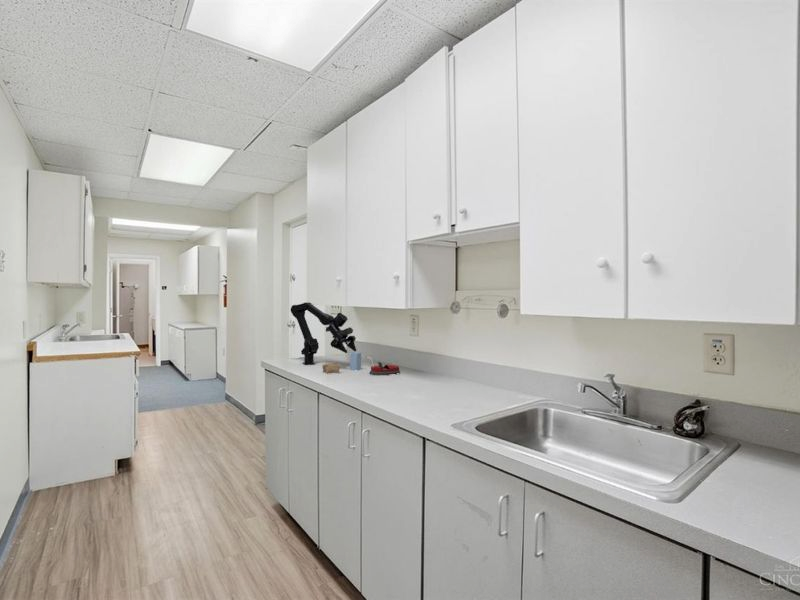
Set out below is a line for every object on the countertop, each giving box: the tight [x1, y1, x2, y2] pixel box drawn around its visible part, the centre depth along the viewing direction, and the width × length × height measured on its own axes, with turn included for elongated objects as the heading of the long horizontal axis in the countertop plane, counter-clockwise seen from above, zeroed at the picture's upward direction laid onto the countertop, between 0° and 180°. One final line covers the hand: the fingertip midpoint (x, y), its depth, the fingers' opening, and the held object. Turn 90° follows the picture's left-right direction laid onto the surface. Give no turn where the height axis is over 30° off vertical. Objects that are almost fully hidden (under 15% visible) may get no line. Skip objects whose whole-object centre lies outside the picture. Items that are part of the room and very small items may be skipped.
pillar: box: [349, 351, 362, 371], centre depth 246 cm, size 4×4×10 cm
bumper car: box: [365, 356, 401, 376], centre depth 236 cm, size 10×20×10 cm, turn 114°
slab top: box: [321, 363, 341, 371], centre depth 235 cm, size 7×7×2 cm
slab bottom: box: [322, 369, 340, 375], centre depth 235 cm, size 7×7×2 cm
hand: (351, 351), depth 248 cm, fingers open, 9 cm apart
